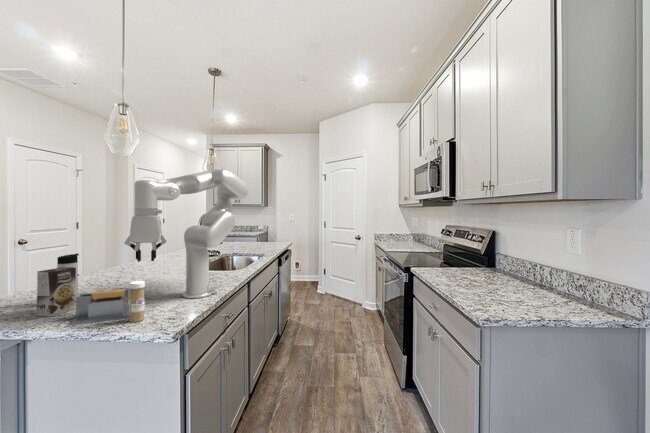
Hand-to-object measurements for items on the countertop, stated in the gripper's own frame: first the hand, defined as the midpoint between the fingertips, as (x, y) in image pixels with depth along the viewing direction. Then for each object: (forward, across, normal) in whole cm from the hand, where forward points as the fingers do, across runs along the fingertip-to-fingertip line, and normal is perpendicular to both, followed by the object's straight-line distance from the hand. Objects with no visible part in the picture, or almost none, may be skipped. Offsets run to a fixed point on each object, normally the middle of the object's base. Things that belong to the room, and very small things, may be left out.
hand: (146, 260), depth 111 cm
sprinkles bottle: (+19, +2, +10) cm, 22 cm away
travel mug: (+19, +30, -21) cm, 41 cm away
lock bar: (+13, +11, 0) cm, 17 cm away
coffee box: (+19, +30, -10) cm, 37 cm away
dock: (+19, +12, 0) cm, 22 cm away
